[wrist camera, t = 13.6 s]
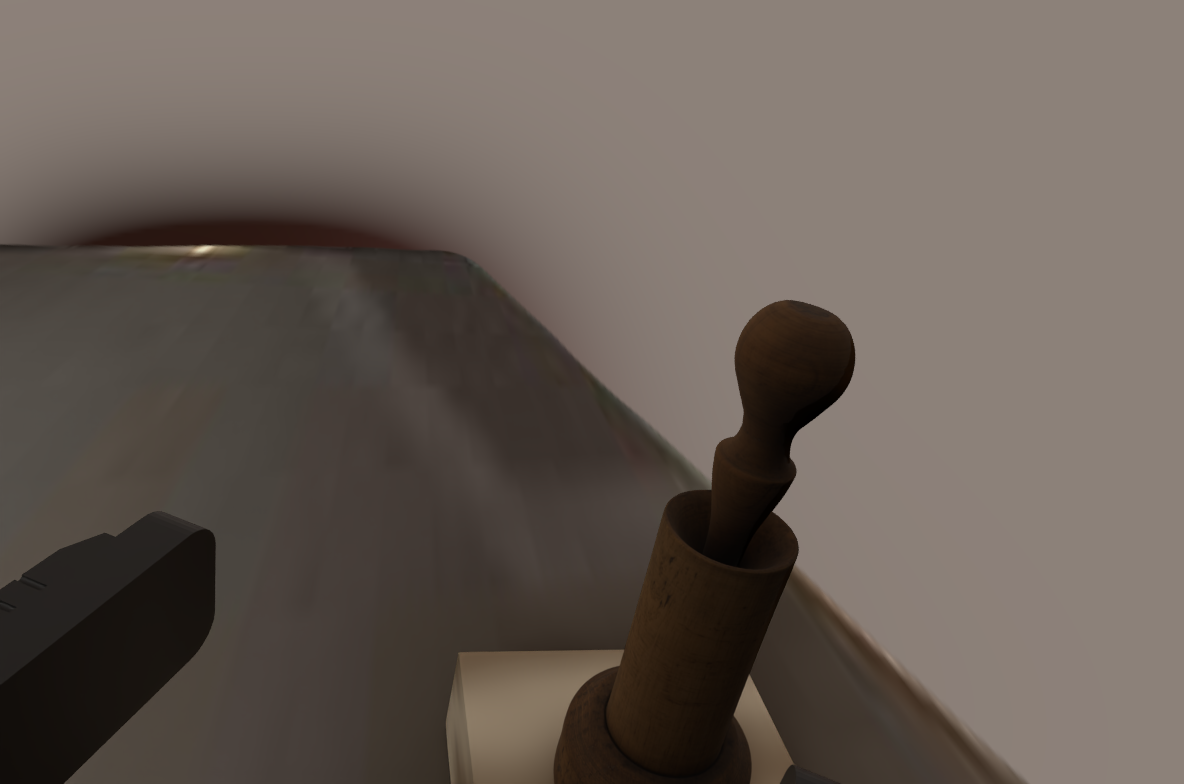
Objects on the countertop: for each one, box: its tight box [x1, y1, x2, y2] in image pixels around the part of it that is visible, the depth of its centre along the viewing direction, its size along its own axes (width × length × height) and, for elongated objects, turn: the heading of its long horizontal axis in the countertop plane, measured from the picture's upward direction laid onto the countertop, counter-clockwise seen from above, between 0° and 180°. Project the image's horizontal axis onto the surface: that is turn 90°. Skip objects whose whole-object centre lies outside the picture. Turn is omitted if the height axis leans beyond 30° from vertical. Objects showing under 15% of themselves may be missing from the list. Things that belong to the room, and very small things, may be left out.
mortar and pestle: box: [553, 300, 855, 784], centre depth 25 cm, size 7×6×18 cm
